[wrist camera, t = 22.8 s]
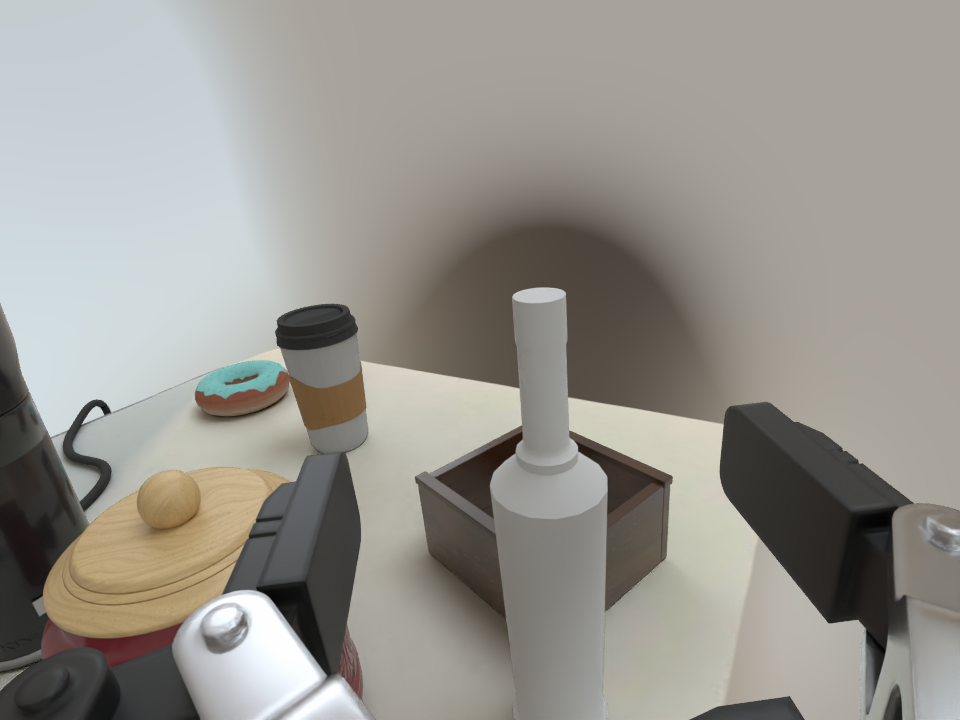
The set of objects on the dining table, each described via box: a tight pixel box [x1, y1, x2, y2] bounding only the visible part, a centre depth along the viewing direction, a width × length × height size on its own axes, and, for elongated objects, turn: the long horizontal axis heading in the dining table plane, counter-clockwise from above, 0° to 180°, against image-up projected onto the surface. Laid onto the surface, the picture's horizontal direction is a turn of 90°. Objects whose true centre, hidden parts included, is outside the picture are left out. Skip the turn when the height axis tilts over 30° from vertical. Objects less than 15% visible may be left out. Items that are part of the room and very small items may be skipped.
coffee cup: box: [275, 304, 368, 454], centre depth 60 cm, size 8×8×15 cm
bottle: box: [490, 288, 608, 720], centre depth 26 cm, size 5×5×25 cm
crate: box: [415, 426, 673, 619], centre depth 42 cm, size 14×13×7 cm
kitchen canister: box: [41, 467, 363, 701], centre depth 29 cm, size 13×13×18 cm
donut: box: [195, 361, 290, 416], centre depth 74 cm, size 12×12×4 cm
